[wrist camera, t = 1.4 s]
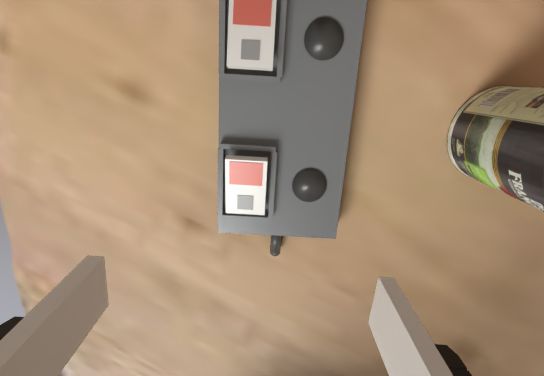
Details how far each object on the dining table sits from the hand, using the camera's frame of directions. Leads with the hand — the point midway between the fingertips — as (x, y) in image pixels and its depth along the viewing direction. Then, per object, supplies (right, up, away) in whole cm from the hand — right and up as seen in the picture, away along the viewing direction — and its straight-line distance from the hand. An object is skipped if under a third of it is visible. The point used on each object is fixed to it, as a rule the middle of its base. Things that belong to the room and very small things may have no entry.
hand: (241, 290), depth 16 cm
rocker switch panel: (+3, +11, +20) cm, 23 cm away
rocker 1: (0, +18, +13) cm, 22 cm away
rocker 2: (-1, +5, +17) cm, 18 cm away
